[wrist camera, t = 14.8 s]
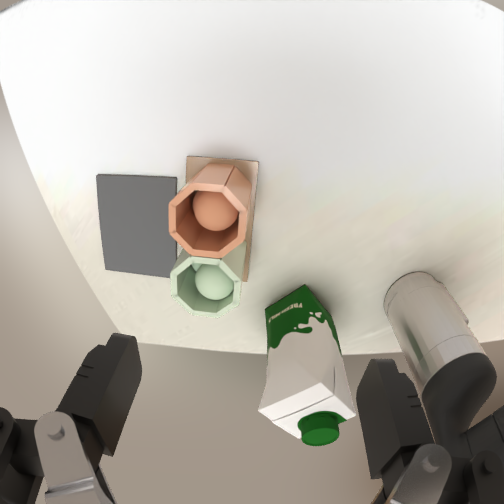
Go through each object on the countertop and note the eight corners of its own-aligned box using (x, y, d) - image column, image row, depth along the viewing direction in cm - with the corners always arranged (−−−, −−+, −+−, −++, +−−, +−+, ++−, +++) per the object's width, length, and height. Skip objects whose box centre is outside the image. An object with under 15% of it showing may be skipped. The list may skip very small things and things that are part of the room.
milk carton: (291, 343, 49) (297, 456, 31) (255, 307, 46) (246, 426, 28) (339, 316, 46) (367, 430, 28) (306, 275, 43) (325, 393, 25)
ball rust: (221, 197, 36) (245, 182, 32) (225, 236, 35) (250, 224, 31) (184, 193, 33) (206, 175, 29) (187, 235, 32) (210, 222, 29)
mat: (176, 177, 38) (175, 178, 37) (177, 276, 44) (176, 278, 44) (98, 174, 38) (96, 175, 38) (107, 267, 44) (105, 269, 44)
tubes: (258, 161, 37) (255, 181, 28) (247, 279, 44) (242, 324, 35) (187, 156, 37) (163, 174, 28) (186, 272, 44) (168, 315, 35)
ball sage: (215, 246, 37) (246, 264, 35) (212, 275, 40) (241, 294, 38) (187, 262, 34) (218, 284, 32) (186, 293, 37) (215, 314, 35)
